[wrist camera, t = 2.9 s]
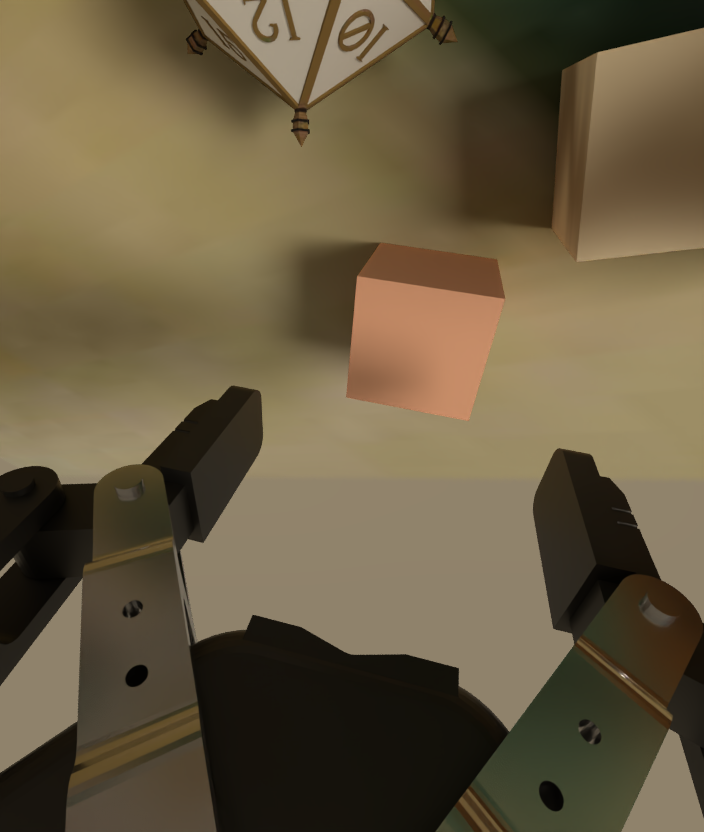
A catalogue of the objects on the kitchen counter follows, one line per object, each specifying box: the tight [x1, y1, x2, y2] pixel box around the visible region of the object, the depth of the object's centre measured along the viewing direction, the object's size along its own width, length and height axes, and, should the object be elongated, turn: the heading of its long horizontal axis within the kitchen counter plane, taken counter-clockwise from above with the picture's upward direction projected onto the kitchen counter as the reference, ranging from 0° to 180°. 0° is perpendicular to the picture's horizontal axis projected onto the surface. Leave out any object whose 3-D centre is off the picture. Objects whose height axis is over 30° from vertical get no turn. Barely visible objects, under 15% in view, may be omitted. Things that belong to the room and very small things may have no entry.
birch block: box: [552, 28, 704, 262], centre depth 13 cm, size 5×5×5 cm
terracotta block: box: [346, 243, 505, 421], centre depth 18 cm, size 5×5×5 cm
